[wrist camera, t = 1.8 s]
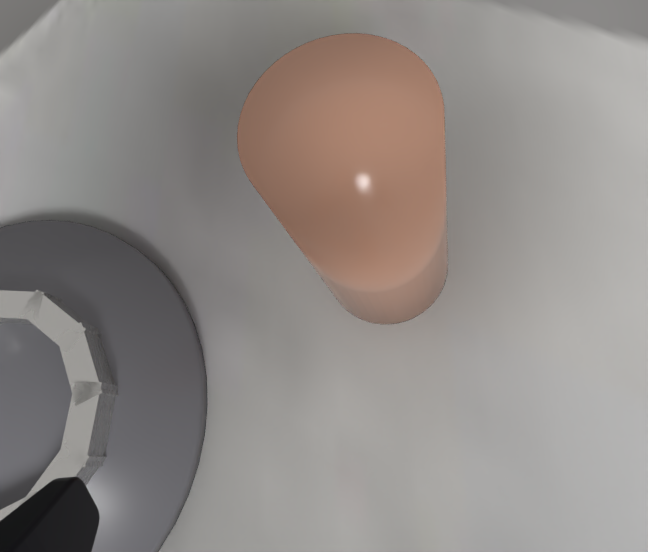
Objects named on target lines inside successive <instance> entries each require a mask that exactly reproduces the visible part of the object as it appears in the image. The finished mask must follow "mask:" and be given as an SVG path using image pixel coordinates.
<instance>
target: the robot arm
mask: <svg viewBox="0 0 648 552" xmlns="http://www.w3.org/2000/svg"><path fill="white" fill-rule="evenodd" d="M99 520H100V516H99V510H98V508H97V506H96V504H95V502H94V500H93V498H92V496H91V494H90V493H89V491H88V489H87V487H86V485H85V483H84V482H83V480H82V479H80V478H79V477H64V478H57V479H54V480H52V481H51V482H49V483H48V484H47V485H45V486H44V487H43V488H42V489H40V490H39V491H38V492H36V493H35V494H34V495H33V496H31V497H30V498H29V499H28V500H26V501H25V502H24V503H22V504H21V505H20V506H19V507H17V508H16V509H15V510H13V511H12V512H11V513H10V514H8V515H7V516H6V517H5V518H3V519H2V520H1V521H0V552H92V549H93V545H94V541H95V538H96V534H97V530H98V527H99Z"/></svg>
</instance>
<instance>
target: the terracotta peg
mask: <svg viewBox="0 0 648 552" xmlns="http://www.w3.org/2000/svg"><path fill="white" fill-rule="evenodd" d="M237 144H238V152H239V157H240V161H241V163H242V166H243V169H244V171H245V173H246V175H247V177H248V178H249V180H250V182H251V183H252V185H253V186H254V187H255V189H256V190H257V191H258V193H259V194H260V195H261V197H262V198H263V199H264V201H265V202H266V204H267V205H268V206H269V208H270V209H271V210H272V212H273V213H274V214H275V216H276V217H277V219H278V220H279V221H280V223H281V224H282V225H283V227H284V228H285V229H286V231H287V232H288V233H289V235H290V236H291V238H292V239H293V240H294V242H295V243H296V244H297V246H298V247H299V248H300V250H301V251H302V252H303V254H304V255H305V257H306V258H307V259H308V261H309V262H310V263H311V265H312V266H313V267H314V269H315V270H316V272H317V273H318V274H319V276H320V277H321V278H322V280H323V281H324V282H325V284H326V285H327V286H328V288H329V289H330V291H331V292H332V293H333V295H334V296H335V297H336V299H337V300H338V301H339V303H340V304H341V305H342V306H343V307H344V308H345V309H346V310H347V311H348V312H350V313H351V314H352V315H354V316H356V317H358V318H359V319H362V320H365V321H367V322H371V323H376V324H395V323H400V322H404V321H407V320H410V319H412V318H414V317H416V316H418V315H420V314H421V313H423V312H424V311H425V310H426V309H428V308H429V307H430V306H431V305H432V304H433V303H434V301H435V300H436V299H437V298H438V296H439V294H440V293H441V291H442V289H443V287H444V284H445V281H446V277H447V272H448V245H447V202H446V159H445V117H444V103H443V98H442V93H441V90H440V88H439V85H438V82H437V80H436V79H435V77H434V75H433V73H432V72H431V70H430V69H429V68H428V66H427V65H426V64H425V63H424V62H423V61H422V60H421V59H420V58H419V57H418V56H417V55H416V54H415V53H413V52H412V51H410V50H409V49H408V48H406V47H404V46H402V45H400V44H399V43H397V42H395V41H392V40H389V39H386V38H383V37H379V36H375V35H369V34H359V33H354V34H338V35H331V36H327V37H323V38H319V39H316V40H313V41H311V42H308V43H306V44H303V45H301V46H299V47H297V48H295V49H294V50H292V51H290V52H289V53H287V54H285V55H284V56H283V57H281V58H280V59H279V60H277V61H276V62H275V63H274V64H273V65H272V66H270V67H269V68H268V69H267V70H266V71H265V72H264V74H263V75H262V76H261V77H260V78H259V79H258V81H257V82H256V83H255V85H254V86H253V88H252V89H251V91H250V93H249V95H248V97H247V99H246V101H245V103H244V106H243V108H242V111H241V114H240V119H239V123H238V132H237Z"/></svg>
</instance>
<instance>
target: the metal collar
mask: <svg viewBox="0 0 648 552" xmlns="http://www.w3.org/2000/svg"><path fill="white" fill-rule="evenodd" d="M61 300H62V299H60V298H57V297H55V296H53V295H50V294H48V293H45V292H42V291H40V290H36V291H35V292H29V291H4V290H0V325H1V324H3V323H20V324H34V325H35V326H36V327H37V328H38V329H40V330H41V331H42V332H43V333H44V334H45V335H47V336H48V337H49V338H50V339H51V340H53V341H54V342H55V343H56V344H57V345H58V346H59V347H60V351H61V354H62V358H63V362H64V365H65V369H66V372H67V376H68V380H69V383H70V387H71V391H72V398H71V403H70V407H69V412H68V417H67V421H66V426H65V431H64V436H63V440H62V445H61V450H60V451H59V452H58V454H57V455H56V457H55V458H54V459H53V461H52V462H51V463H50V465H49V466H48V467H47V469H46V470H45V472H44V473H43V474H42V476H41V477H40V478H39V480H38V481H37V482H36V484H35V485H34V487H33V488H32V489H31V491H30V492H29V493H28V495H27V496H26V497H25V498H23V499H21V500H19V501H17V502H15V503H13V504H11V505H9V506H7V507H5V508H3V509H1V510H0V521H1V520H2V519H3V518H5V517H6V516H7V515H8V514H10V513H11V512H12V511H13V510H15V509H16V508H17V507H19V506H20V505H21V504H22V503H24V502H25V501H26V500H28V499H29V498H30V497H31V496H33V495H34V494H35V493H36V492H38V491H39V490H40V489H42V488H43V487H44V486H45V485H47V484H48V483H49V482H51V481H52V480H54V479H57V478H64V477H79V478H80V479H82V480H83V482H84V483H85V485H87V484H88V482H89V481H90V480H91V478H92V477H93V475H94V474H95V473H96V471H97V470H98V469H99V467H102V466H103V462H104V460H105V459H106V457H107V456H106V455H105V452H106V447H107V441H108V436H109V431H110V426H111V420H112V415H113V410H114V405H115V399H116V397H117V396H118V392H117V389H118V386H116V385H115V383H114V379H113V376H112V373H111V369H110V366H109V363H108V360H107V356H106V353H105V350H104V347H103V343H102V340H101V336H102V334H101V333H100V332H99V330H98V328H96V327H93V326H91V325H90V324H88V323H87V322H86V321H85V320H83V319H82V318H81V317H80V316H78V315H77V314H76V313H75V312H73V311H72V310H71V309H70V308H68V307H67V306H66V305H65V304H63V303H62V302H61Z"/></svg>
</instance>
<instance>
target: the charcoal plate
mask: <svg viewBox="0 0 648 552" xmlns="http://www.w3.org/2000/svg"><path fill="white" fill-rule="evenodd" d="M0 290H4V291H29V292H35V291H36V290H40V291H42V292H45V293H48V294H50V295H53V296H55V297H57V298H60V299H62V300H61V302H62V303H63V304H65V305H66V306H67V307H68V308H70V309H71V310H72V311H73V312H75V313H76V314H77V315H78V316H80V317H81V318H82V319H83V320H85V321H86V322H87V323H88V324H90V325H91V326H93V327H96V328H98V330H99V332H100V333H101V334H102V336H101V340H102V343H103V347H104V350H105V353H106V356H107V360H108V363H109V366H110V369H111V373H112V376H113V379H114V383H115V385H116V386H118V389H117V392H118V396H117V397H116V399H115V405H114V410H113V415H112V420H111V426H110V431H109V436H108V441H107V447H106V452H105V455H106V456H107V457H106V459H105V460H104V462H103V466H102V467H99V469H98V470H97V471H96V473H95V474H94V475H93V477H92V478H91V480H90V481H89V482H88V484H87V485H86V487H87V489H88V491H89V493H90V494H91V496H92V498H93V500H94V502H95V504H96V506H97V508H98V510H99V516H100V520H99V527H98V530H97V534H96V538H95V541H94V545H93V549H92V552H158V551H159V550H160V548H161V546H162V545H163V543H164V541H165V540H166V538H167V536H168V535H169V533H170V532H171V530H172V528H173V527H174V525H175V523H176V521H177V519H178V517H179V514H180V512H181V510H182V508H183V506H184V504H185V501H186V499H187V497H188V495H189V492H190V489H191V486H192V483H193V480H194V477H195V474H196V471H197V468H198V465H199V460H200V455H201V450H202V445H203V440H204V435H205V425H206V413H207V385H206V372H205V366H204V360H203V353H202V348H201V345H200V342H199V338H198V335H197V332H196V328H195V325H194V323H193V321H192V318H191V316H190V314H189V312H188V310H187V307H186V305H185V303H184V301H183V300H182V298H181V297H180V295H179V293H178V292H177V290H176V289H175V287H174V286H173V284H172V283H171V281H170V280H169V279H168V278H167V277H166V276H165V275H164V274H163V272H162V271H161V270H160V269H159V268H158V267H157V266H156V265H155V264H154V263H153V262H152V261H150V260H149V259H148V258H147V257H146V256H144V255H143V254H142V253H141V252H140V251H138V250H136V249H135V248H133V247H132V246H130V245H129V244H127V243H125V242H124V241H122V240H120V239H119V238H117V237H115V236H114V235H112V234H109V233H107V232H104V231H102V230H99V229H97V228H94V227H92V226H87V225H83V224H79V223H74V222H67V221H54V220H45V221H29V222H23V223H18V224H13V225H8V226H4V227H1V228H0ZM71 398H72V391H71V387H70V383H69V380H68V376H67V372H66V369H65V365H64V362H63V358H62V354H61V351H60V347H59V346H58V345H57V344H56V343H55V342H54V341H53V340H51V339H50V338H49V337H48V336H47V335H45V334H44V333H43V332H42V331H41V330H40V329H38V328H37V327H36V326H35V325H34V324H20V323H3V324H1V325H0V510H1V509H3V508H5V507H7V506H9V505H11V504H13V503H15V502H17V501H19V500H21V499H23V498H25V497H26V496H27V495H28V493H29V492H30V491H31V489H32V488H33V487H34V485H35V484H36V482H37V481H38V480H39V478H40V477H41V476H42V474H43V473H44V472H45V470H46V469H47V467H48V466H49V465H50V463H51V462H52V461H53V459H54V458H55V457H56V455H57V454H58V452H59V451H60V450H61V445H62V440H63V436H64V431H65V426H66V421H67V417H68V412H69V407H70V403H71Z"/></svg>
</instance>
